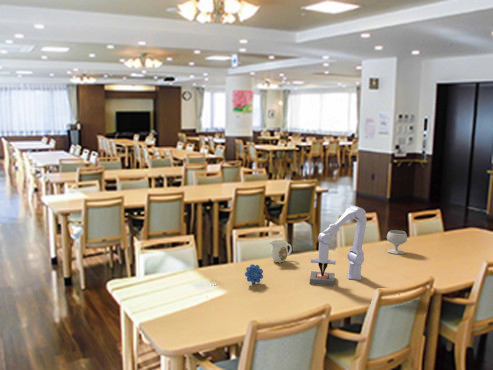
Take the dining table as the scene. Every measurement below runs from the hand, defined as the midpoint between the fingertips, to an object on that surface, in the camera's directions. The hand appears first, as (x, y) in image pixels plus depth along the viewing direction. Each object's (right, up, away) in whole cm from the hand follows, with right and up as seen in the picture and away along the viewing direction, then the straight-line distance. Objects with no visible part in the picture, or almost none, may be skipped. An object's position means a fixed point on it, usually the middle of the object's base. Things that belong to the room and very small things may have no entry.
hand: (322, 275), depth 281 cm
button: (0, -2, 0) cm, 2 cm away
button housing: (0, -3, +1) cm, 3 cm away
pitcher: (-22, +2, +36) cm, 43 cm away
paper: (-65, -5, -14) cm, 67 cm away
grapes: (-40, -4, -8) cm, 41 cm away
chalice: (+63, +5, +63) cm, 89 cm away
